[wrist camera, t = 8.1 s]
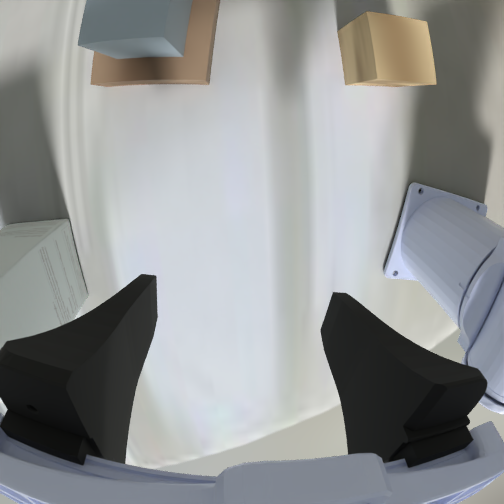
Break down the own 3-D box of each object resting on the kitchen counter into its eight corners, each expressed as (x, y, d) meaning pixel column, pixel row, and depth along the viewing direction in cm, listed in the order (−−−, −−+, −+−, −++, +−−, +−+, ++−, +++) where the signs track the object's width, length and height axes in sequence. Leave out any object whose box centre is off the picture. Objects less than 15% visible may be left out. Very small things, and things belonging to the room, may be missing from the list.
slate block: (193, -4, 12) (179, -40, 8) (183, 56, 14) (163, 36, 9) (127, 0, 12) (94, -29, 7) (117, 59, 14) (77, 45, 9)
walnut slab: (221, -6, 14) (220, -24, 12) (209, 85, 17) (205, 80, 15) (122, -2, 14) (107, -15, 11) (109, 87, 17) (90, 84, 14)
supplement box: (7, 222, 20) (-90, 300, 8) (71, 216, 20) (-35, 313, 9) (28, 295, 23) (-41, 388, 11) (90, 298, 23) (26, 415, 12)
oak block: (388, 35, 16) (426, 21, 11) (396, 86, 17) (436, 84, 13) (337, 31, 16) (366, 11, 11) (345, 85, 17) (377, 79, 13)
